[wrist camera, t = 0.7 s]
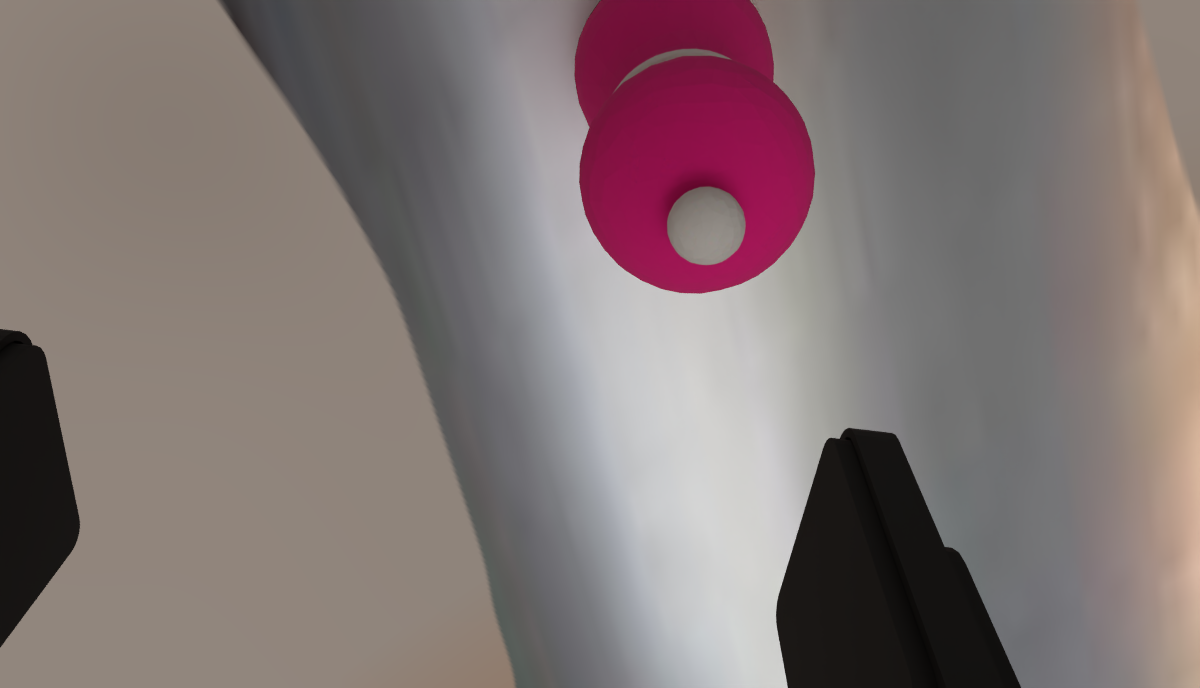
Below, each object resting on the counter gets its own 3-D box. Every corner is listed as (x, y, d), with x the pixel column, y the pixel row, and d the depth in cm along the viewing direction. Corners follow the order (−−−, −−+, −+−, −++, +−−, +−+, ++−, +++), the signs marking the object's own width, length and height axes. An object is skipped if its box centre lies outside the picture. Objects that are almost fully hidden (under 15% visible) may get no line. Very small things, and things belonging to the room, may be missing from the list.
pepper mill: (546, 9, 37) (481, 176, 20) (710, -86, 35) (799, 6, 18) (630, 163, 40) (638, 426, 23) (785, 83, 38) (923, 302, 21)
